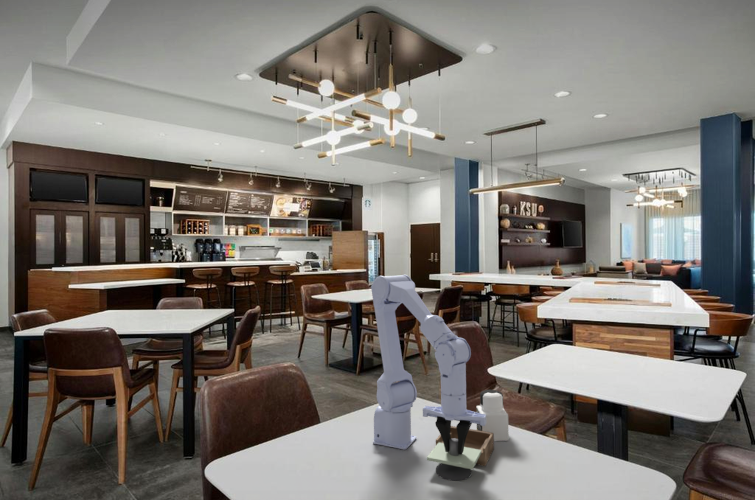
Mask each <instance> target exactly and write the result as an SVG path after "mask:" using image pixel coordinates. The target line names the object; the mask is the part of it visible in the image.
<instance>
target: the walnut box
mask: <svg viewBox="0 0 755 500" xmlns="http://www.w3.org/2000/svg"><path fill="white" fill-rule="evenodd" d="M450 435H451V439H452V438H456V439H458V434H457V427H456V426H455V425H454V426H453V425H451V432H450ZM439 442H440V443H443V440H442V437H441V434H440V433H439V435H438V437H436V438H435V446H436V445H437V444H438V443H439ZM464 447H467V448H473V449H478V450H481V455H480V457H479V458H478V460H477V462H476V464H475V466H476V465H477V466H482V467H486V466H487V464H488V461H489V459H490V458H491V455H492V453H493V451H494V450H495V441H494V433H491V432H485V431H479V430H477V429H472V428H470V429H469V431H468V434H467V437H466V440H465V444H464Z"/></svg>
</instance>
